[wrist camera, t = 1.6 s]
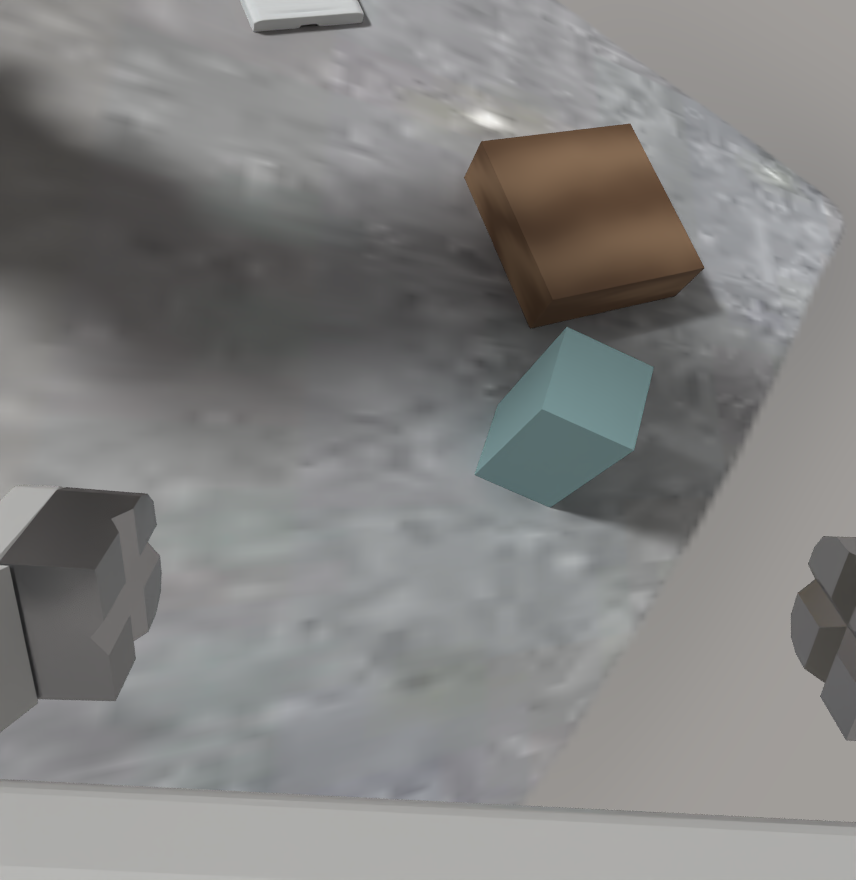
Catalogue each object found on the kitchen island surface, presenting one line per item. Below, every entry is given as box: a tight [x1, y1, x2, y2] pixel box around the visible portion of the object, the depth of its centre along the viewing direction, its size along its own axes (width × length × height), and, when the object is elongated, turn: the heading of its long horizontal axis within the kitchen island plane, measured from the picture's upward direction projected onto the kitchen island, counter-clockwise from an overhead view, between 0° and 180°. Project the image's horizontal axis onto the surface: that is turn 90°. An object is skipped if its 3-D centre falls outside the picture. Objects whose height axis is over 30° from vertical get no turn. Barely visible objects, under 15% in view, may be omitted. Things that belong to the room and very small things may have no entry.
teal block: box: [475, 327, 654, 507], centre depth 44 cm, size 5×5×10 cm
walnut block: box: [464, 124, 704, 329], centre depth 54 cm, size 12×12×4 cm
